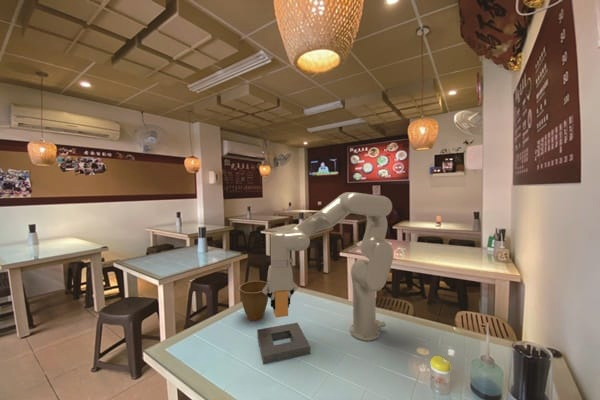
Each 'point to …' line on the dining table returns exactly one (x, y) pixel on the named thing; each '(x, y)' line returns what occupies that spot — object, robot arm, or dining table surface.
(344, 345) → the dining table surface
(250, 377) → the dining table surface
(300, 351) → the grey square frame
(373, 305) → the robot arm
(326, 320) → the dining table surface
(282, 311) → the orange rectangular block
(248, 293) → the plant pot
